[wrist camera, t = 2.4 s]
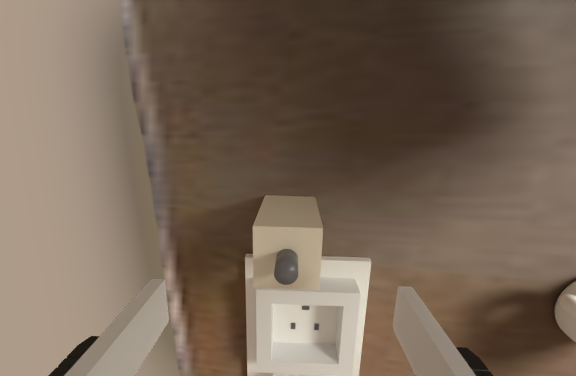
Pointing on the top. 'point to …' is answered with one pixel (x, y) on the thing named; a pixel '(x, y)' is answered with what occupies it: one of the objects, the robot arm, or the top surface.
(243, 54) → the top surface
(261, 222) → the plug
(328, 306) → the socket plate
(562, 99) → the top surface
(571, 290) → the mug
